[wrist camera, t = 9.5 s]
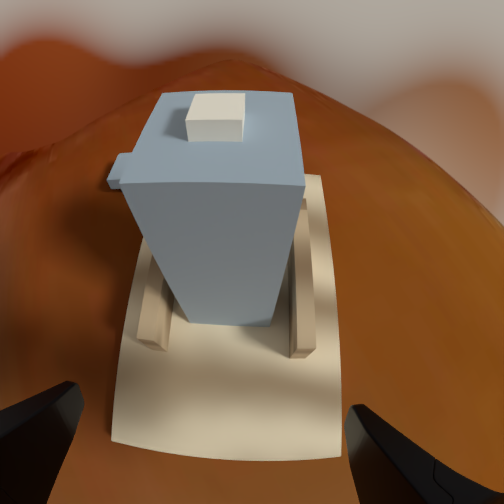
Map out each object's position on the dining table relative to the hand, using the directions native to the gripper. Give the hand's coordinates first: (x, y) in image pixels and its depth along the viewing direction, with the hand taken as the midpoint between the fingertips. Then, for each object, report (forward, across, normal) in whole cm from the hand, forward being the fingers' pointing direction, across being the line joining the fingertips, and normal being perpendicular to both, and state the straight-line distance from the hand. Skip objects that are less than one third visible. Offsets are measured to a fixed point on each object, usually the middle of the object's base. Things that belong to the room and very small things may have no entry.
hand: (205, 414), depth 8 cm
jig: (+12, 0, +1) cm, 12 cm away
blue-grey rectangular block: (+12, 0, 0) cm, 12 cm away
